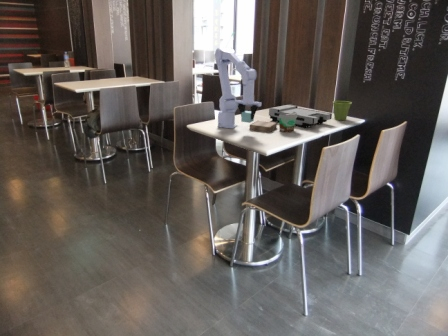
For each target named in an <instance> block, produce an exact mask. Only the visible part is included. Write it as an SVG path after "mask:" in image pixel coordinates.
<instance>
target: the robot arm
mask: <svg viewBox="0 0 448 336" xmlns="http://www.w3.org/2000/svg"><path fill="white" fill-rule="evenodd" d="M214 59H215V64H216V65H217V70H218V77H219V80H220V81H219V82H220V87H221V93H222V95H221V97H220V98H219V105H218V106H219V112H218V113H217V114H218V115H217V128H225V129H226V128H227V129H234V128H235V127H237V126H238V125H237V124H235V123H236V121H235V120H236V118H235V117H236V115H235V114H236V112H237V110H239V114H240V116H242V112H244V111H246V110H245V109H246V106H250V111H251V119H254V118H255V115H256V112H257V110H258V109H259V108H260V107H262V101H261V102H260V101H255V100H254V97H255V96H254V95H255V81H256V80H257V78H258V72H257V70H256V69H254V68H251V67H250V66H249V65H248V64H247V63H246V62H245V60H240V58H239V57H238V56H237V55H236V50H235V49H233V48H232V47H230V48H229V47H228V48H227V47H226V48H224V47H223V48H220V47H217V48H216V50H215V52H214ZM231 63H232V64H233V66H235V67H234V68H235V70H236V71H237V72H238V73H239V75H240V78H241V80H242V81H241V83H242V99H241V100H240V99H237V97H236V96H235V95H234V94H233V93H232V88H231V82H230V77H229V71H228V65H230V64H231ZM254 120H255V119H254Z"/></svg>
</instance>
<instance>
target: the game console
mask: <svg viewBox="0 0 448 336" xmlns="http://www.w3.org/2000/svg"><path fill="white" fill-rule="evenodd" d="M293 112H296V113H297V118H296V122H295V127H298V128H302V129H308V128H311V127H312V126H315V125H317V126H319V125H321V124H324V123H325V122H328V121H329V120H332V117H333V113H330V112H325V111H319V110H315V109H314V110H311V109H307V108H306V109H305V108H301V107H298V105H293V104H286V105H284V104H283V105H281V106H279V105H278V106H275V107H270V108H269V109H268V116H269V119H270V120H272V121H271V122H274V123H277V124H278V123H279V114H283V115H285V114H292V113H293Z"/></svg>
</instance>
